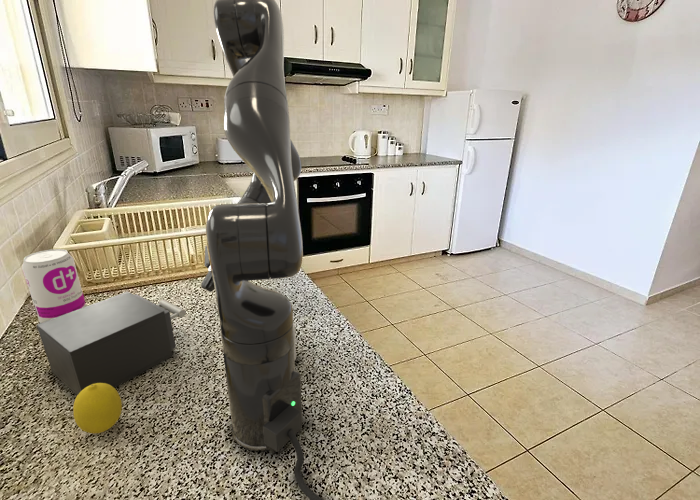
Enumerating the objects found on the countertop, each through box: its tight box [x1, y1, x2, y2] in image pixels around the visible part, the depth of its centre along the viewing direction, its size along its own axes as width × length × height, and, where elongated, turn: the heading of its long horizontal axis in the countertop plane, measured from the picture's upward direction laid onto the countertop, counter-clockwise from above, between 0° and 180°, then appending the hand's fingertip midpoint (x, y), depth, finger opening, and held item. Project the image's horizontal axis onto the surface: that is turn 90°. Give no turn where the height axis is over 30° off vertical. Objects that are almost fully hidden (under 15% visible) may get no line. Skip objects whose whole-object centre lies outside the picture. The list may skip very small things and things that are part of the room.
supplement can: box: [21, 248, 87, 324], centre depth 77 cm, size 8×8×15 cm
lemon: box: [72, 383, 123, 434], centre depth 52 cm, size 6×6×8 cm
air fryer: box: [36, 291, 173, 396], centre depth 65 cm, size 15×13×10 cm
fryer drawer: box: [134, 293, 187, 350], centre depth 68 cm, size 18×11×8 cm, turn 146°
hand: (206, 289), depth 80 cm, fingers closed
